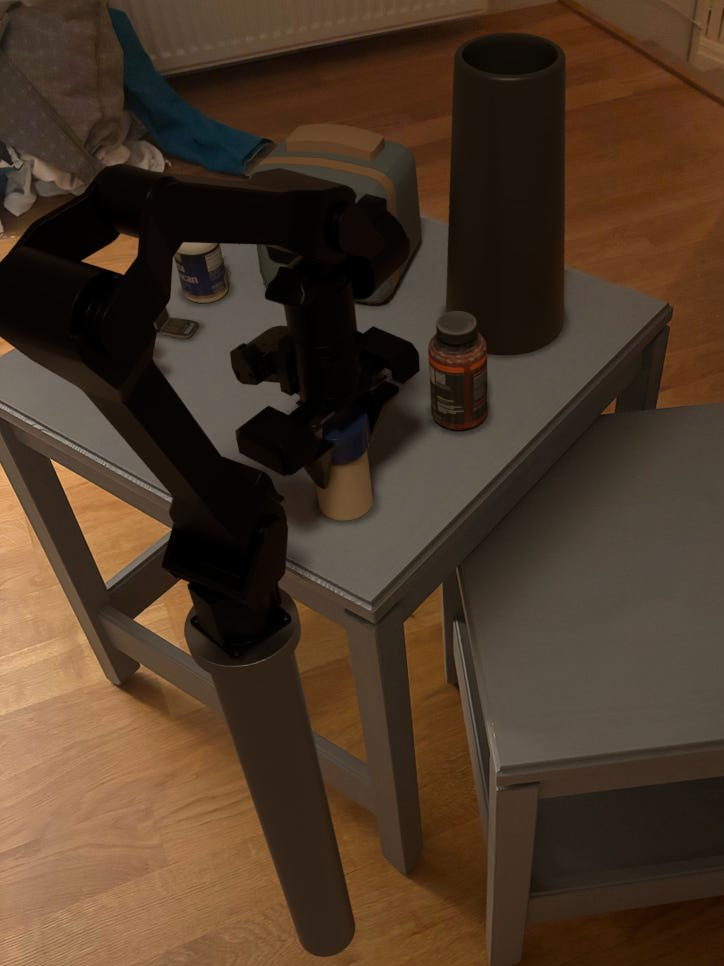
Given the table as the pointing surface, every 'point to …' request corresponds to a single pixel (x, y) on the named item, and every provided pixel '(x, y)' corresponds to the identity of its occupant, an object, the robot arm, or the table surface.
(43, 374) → the table surface
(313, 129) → the alarm clock
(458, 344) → the supplement bottle
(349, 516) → the jar
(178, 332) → the strap clip
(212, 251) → the pill bottle
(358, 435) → the jar lid
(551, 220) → the vase
